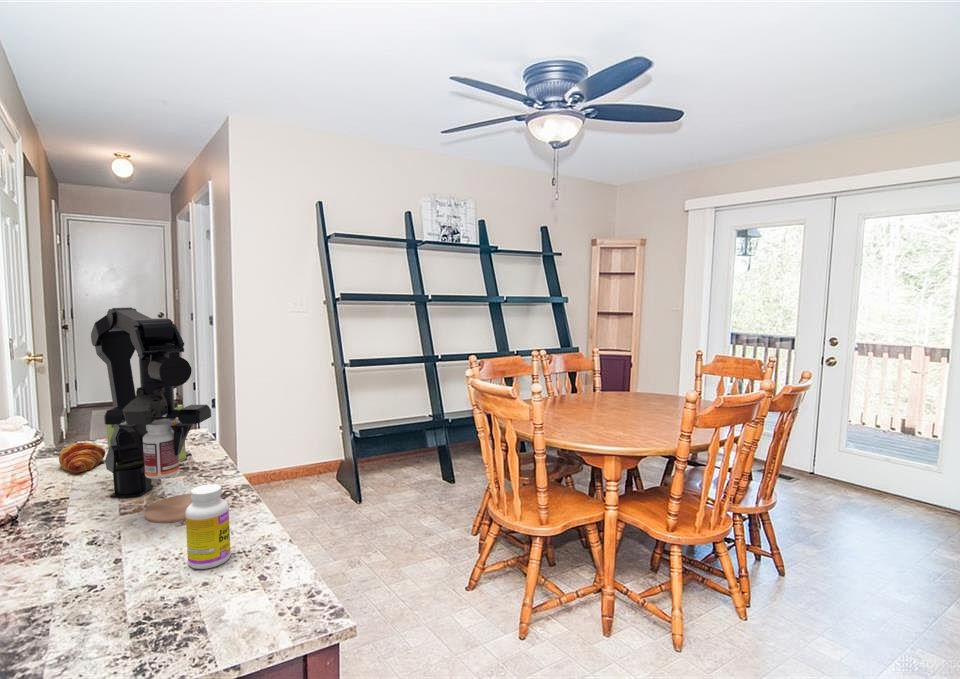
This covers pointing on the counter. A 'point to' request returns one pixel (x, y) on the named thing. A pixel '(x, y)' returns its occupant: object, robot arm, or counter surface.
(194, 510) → the supplement bottle
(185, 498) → the terracotta plate
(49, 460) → the counter surface
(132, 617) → the counter surface
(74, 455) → the croissant
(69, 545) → the counter surface
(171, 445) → the pill bottle
